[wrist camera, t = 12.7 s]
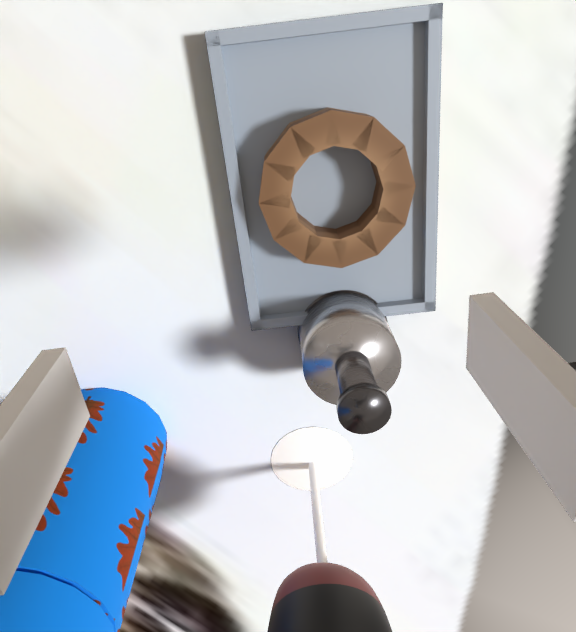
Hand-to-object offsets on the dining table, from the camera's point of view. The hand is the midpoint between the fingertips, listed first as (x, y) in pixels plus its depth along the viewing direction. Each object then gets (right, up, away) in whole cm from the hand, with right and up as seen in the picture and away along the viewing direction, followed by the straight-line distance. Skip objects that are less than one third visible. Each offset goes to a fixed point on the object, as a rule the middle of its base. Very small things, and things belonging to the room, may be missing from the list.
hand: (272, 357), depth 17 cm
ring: (+4, +10, +18) cm, 21 cm away
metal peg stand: (+5, +1, +24) cm, 24 cm away
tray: (+4, +11, +19) cm, 22 cm away
